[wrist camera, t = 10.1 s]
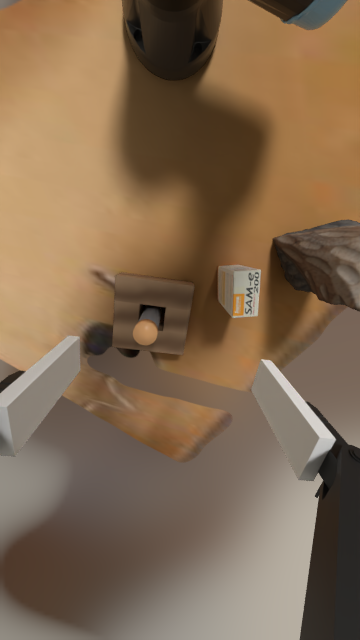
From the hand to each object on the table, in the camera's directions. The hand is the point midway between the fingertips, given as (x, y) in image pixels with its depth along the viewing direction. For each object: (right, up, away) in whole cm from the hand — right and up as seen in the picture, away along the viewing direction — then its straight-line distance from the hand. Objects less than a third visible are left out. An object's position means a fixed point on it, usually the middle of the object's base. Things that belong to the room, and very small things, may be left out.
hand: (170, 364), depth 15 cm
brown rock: (+27, +18, +30) cm, 45 cm away
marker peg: (-6, +5, +34) cm, 35 cm away
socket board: (-6, +5, +34) cm, 35 cm away
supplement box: (+12, +12, +32) cm, 36 cm away
